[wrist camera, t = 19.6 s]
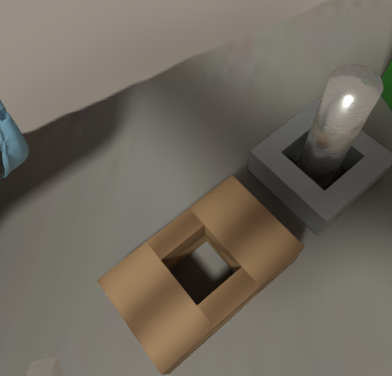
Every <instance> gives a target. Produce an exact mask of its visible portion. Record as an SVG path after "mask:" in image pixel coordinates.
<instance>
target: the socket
mask: <svg viewBox="0 0 392 376" xmlns="http://www.w3.org/2000/svg"><path fill="white" fill-rule="evenodd" d="M320 102H321V99H320V98H317V99H316V100H315V101H314V102H312V103H311V104H310V105H308V106H307V107H306V108H304V109H303V110H302V111H301V112H299V113H298V114H297V115H295V116H294V117H293V118H292V119H290V120H289V121H288V122H286V123H285V124H284V125H282V126H281V127H280V128H279V129H277V130H276V131H275V132H273V133H272V134H271V135H269V136H268V137H267V138H266V139H264V140H263V141H262V142H260V143H259V144H258V145H257V146H255V147H254V148H253V149H251V150H250V154H249V162H248V170H249V171H250V172H251V173H252V174H253V175H254V176H255V177H256V178H257V179H258V180H259V181H260V182H261V183H262V184H264V185H265V186H266V187H267V188H268V189H269V190H270V191H271V192H272V193H273V194H274V195H275V196H276V197H277V198H278V199H279V200H280V201H281V202H282V203H283V204H284V205H286V206H287V207H288V208H289V209H290V210H291V211H292V212H293V213H294V214H295V215H296V216H297V217H298V218H299V219H300V220H301V221H302V222H303V223H304V224H305V225H306V226H308V227H309V228H310V229H311V230H312V231H313V232H314V233H315V234H316V235H317V234H319V233H320V232H321V231H322V230H323V229H324V228H325V227H326V226H327V225H329V224H330V223H331V222H332V221H333V220H334V219H335V218H336V217H337V216H339V215H340V214H341V213H342V212H343V211H344V210H345V209H346V208H347V207H349V206H350V205H351V204H352V203H353V202H354V201H355V200H356V199H357V198H359V197H360V196H361V195H362V194H363V193H364V192H365V191H366V190H367V189H369V188H370V187H371V186H372V185H373V184H374V183H375V182H376V181H377V180H379V179H380V178H381V177H382V176H383V175H384V174H385V172H386V171H387V170H388V169H389V168H390V166H391V165H392V153H391V152H390V151H388V150H387V149H386V148H384V147H383V146H382V145H381V144H379V143H378V142H377V141H375V140H374V139H373V138H371V137H370V136H369V135H367V134H366V133H365V132H363V131H362V130H360V132H359V134H358V135H357V137H356V139H355V140H354V142H353V144H352V145H351V147H350V149H349V151H348V152H347V154H346V156H345V157H344V159H343V161H342V163H341V164H340V165H341V166H342V167H343V168H345V169H346V170H347V172H346V173H345V174H344V175H343V176H341V177H340V178H339V179H338V180H337V181H336V182H334V183H333V184H332V185H331V186H330V187H329V188H327V189H326V190H325V191H324V190H323V189H322V188H321V187H320V186H319V185H317V184H316V183H315V182H314V181H313V180H312V179H311V178H310V177H308V176H307V175H306V174H305V173H304V172H303V171H302V170H300V169H299V168H298V167H297V166H296V165H295V164H294V163H293V162H291V161H290V159H291V158H292V157H293V156H295V155H296V154H297V153H298V152H299V151H301V150H302V149H303V148H304V145H305V142H306V140H307V137H308V134H309V132H310V129H311V126H312V123H313V121H314V118H315V115H316V113H317V110H318V107H319V105H320Z"/></svg>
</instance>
